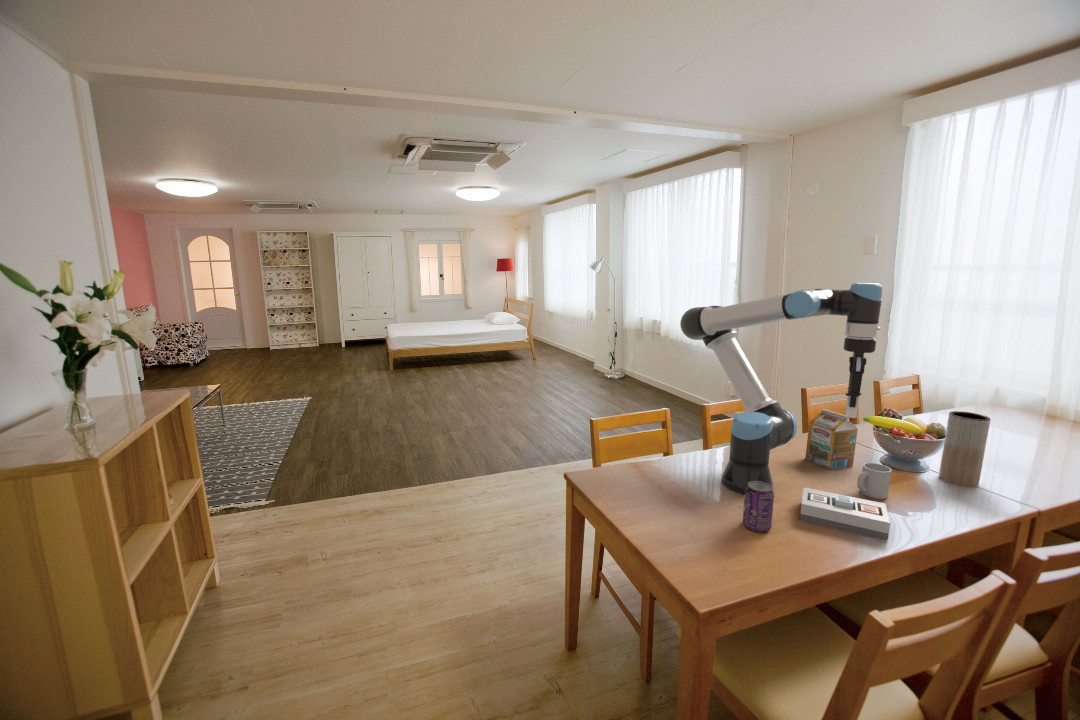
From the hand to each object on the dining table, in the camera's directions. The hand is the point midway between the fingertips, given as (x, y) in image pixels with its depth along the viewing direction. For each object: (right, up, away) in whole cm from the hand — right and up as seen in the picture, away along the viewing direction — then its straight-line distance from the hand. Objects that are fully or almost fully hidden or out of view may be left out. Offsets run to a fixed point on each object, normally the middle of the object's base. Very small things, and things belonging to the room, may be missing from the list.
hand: (850, 416), depth 139 cm
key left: (-12, -26, -4) cm, 29 cm away
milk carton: (+14, -21, +33) cm, 42 cm away
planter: (+48, -24, +18) cm, 56 cm away
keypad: (-7, -28, -7) cm, 30 cm away
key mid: (-7, -25, -8) cm, 27 cm away
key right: (-2, -27, -10) cm, 29 cm away
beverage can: (-33, -29, -10) cm, 45 cm away
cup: (+11, -25, +8) cm, 29 cm away
